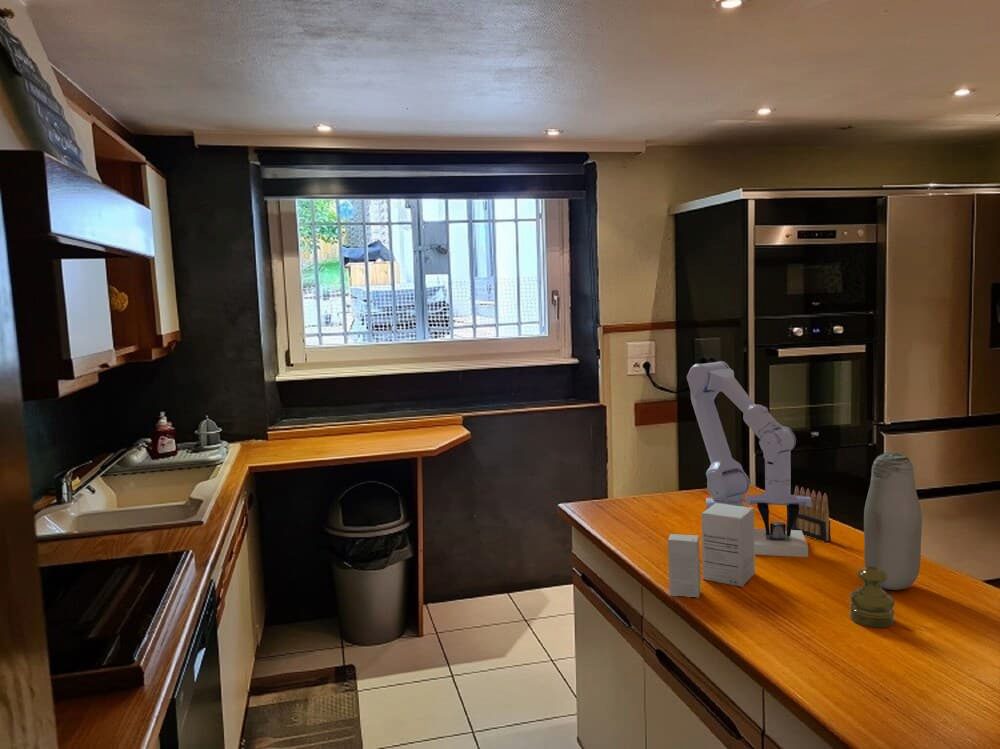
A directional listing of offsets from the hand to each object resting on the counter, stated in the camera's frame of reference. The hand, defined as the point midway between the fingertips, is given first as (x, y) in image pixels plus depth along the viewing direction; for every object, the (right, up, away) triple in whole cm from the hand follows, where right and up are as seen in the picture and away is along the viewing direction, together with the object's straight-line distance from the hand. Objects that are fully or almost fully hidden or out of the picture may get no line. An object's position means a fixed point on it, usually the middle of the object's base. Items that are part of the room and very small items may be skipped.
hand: (777, 534), depth 180 cm
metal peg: (0, -3, 0) cm, 3 cm away
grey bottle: (+14, -6, -26) cm, 30 cm away
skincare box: (-28, -7, -25) cm, 38 cm away
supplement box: (-17, -6, -17) cm, 24 cm away
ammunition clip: (+11, -2, +8) cm, 14 cm away
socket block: (0, -3, 0) cm, 3 cm away
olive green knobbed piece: (+3, -8, -40) cm, 41 cm away
